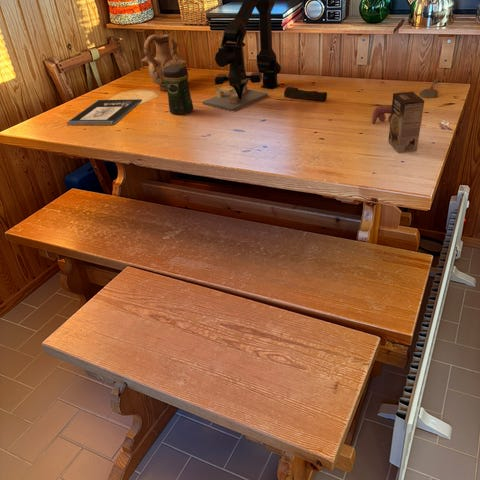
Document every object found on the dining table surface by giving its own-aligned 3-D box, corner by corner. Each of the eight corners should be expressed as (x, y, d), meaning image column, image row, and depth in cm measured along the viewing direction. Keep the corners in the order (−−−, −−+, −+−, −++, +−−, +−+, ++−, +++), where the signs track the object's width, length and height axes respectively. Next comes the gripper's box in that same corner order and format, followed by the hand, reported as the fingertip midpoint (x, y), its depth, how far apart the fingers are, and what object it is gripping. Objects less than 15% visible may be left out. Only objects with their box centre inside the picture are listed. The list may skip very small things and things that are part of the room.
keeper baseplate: (238, 89, 210) (237, 78, 207) (268, 96, 199) (267, 84, 196) (202, 104, 198) (201, 92, 195) (232, 111, 187) (231, 99, 184)
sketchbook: (142, 102, 210) (141, 97, 209) (113, 127, 186) (112, 122, 185) (99, 102, 215) (98, 97, 213) (66, 126, 191) (64, 122, 190)
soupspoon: (417, 100, 183) (435, 102, 180) (419, 92, 181) (436, 94, 178) (428, 82, 198) (444, 83, 195) (429, 74, 196) (446, 75, 193)
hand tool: (327, 100, 189) (328, 89, 187) (323, 103, 187) (323, 92, 184) (287, 95, 199) (287, 84, 196) (282, 98, 196) (282, 87, 194)
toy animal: (400, 125, 165) (402, 105, 164) (400, 124, 161) (403, 103, 159) (371, 124, 168) (374, 105, 167) (371, 123, 164) (373, 103, 162)
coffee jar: (196, 109, 193) (190, 63, 183) (186, 116, 187) (179, 69, 177) (177, 107, 197) (169, 62, 186) (167, 114, 191) (158, 68, 181)
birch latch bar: (239, 89, 206) (239, 84, 205) (248, 89, 205) (248, 84, 204) (228, 103, 192) (228, 98, 191) (237, 103, 191) (237, 98, 190)
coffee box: (387, 142, 151) (392, 92, 142) (406, 139, 151) (412, 90, 142) (397, 153, 143) (403, 102, 134) (417, 151, 144) (425, 99, 134)
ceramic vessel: (191, 90, 216) (182, 32, 202) (150, 97, 213) (139, 39, 198) (184, 80, 230) (176, 26, 216) (146, 86, 227) (135, 32, 213)
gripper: (209, 67, 179) (214, 106, 188) (256, 64, 176) (259, 104, 184) (215, 59, 188) (220, 97, 197) (260, 57, 184) (263, 96, 193)
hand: (240, 99), depth 193 cm, fingers closed
